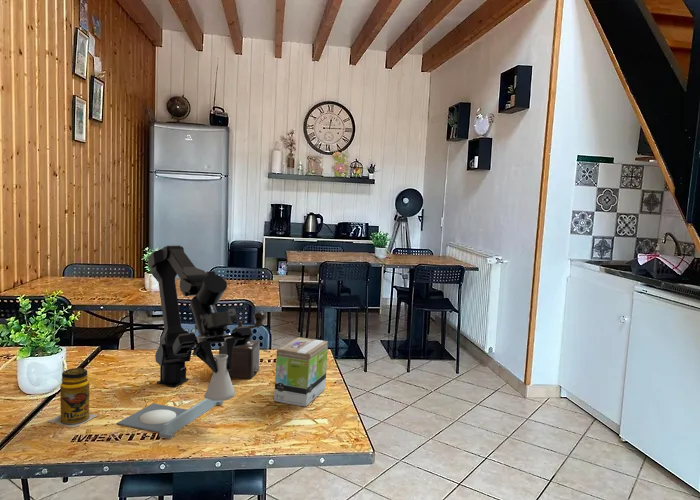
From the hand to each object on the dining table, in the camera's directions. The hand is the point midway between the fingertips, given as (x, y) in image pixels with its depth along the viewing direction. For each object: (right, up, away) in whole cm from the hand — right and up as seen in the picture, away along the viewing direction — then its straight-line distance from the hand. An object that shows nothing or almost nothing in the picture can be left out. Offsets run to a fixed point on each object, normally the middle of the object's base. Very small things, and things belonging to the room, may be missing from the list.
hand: (223, 371), depth 121 cm
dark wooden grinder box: (-4, -10, +41) cm, 42 cm away
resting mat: (-17, -12, +3) cm, 21 cm away
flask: (-1, -7, +2) cm, 7 cm away
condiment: (-36, -12, +1) cm, 38 cm away
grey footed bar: (-8, -13, +4) cm, 15 cm away
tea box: (+16, -12, +22) cm, 30 cm away
